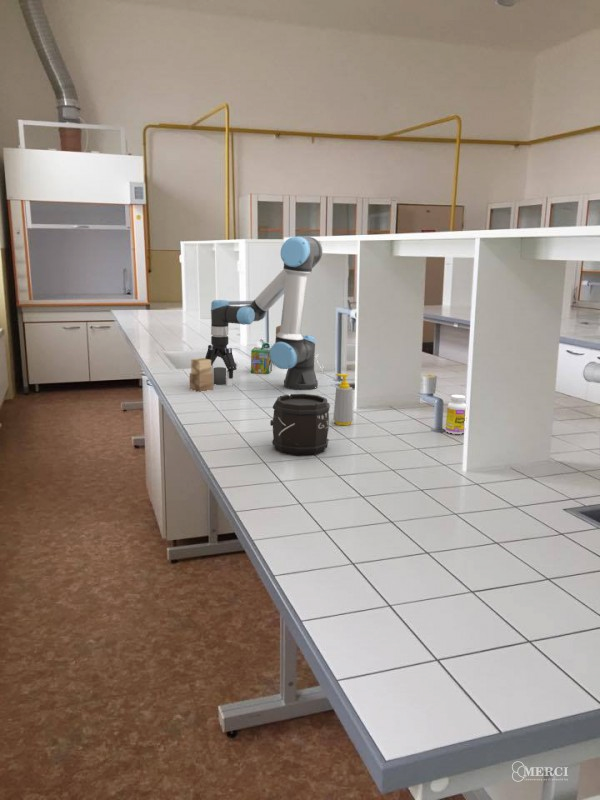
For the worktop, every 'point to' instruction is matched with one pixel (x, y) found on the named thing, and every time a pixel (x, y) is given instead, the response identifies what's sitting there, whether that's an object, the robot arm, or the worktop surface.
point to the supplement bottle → (456, 415)
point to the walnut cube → (201, 382)
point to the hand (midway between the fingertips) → (219, 383)
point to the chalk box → (261, 360)
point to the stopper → (219, 375)
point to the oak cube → (201, 366)
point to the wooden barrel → (300, 424)
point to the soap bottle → (343, 403)
